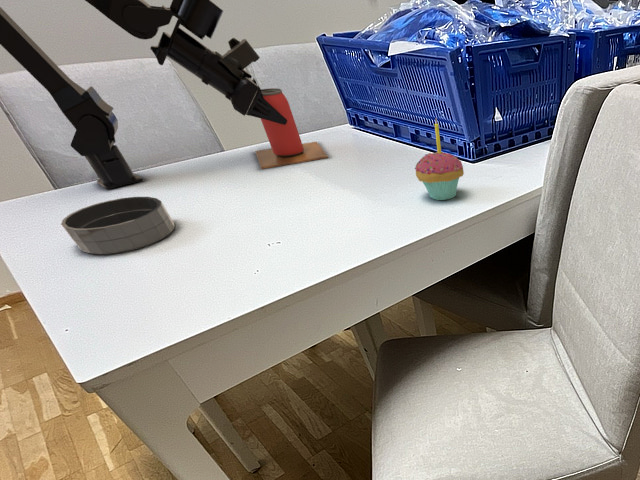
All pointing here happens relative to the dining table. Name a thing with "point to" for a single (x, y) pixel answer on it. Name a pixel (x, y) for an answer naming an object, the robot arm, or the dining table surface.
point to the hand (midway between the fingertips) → (284, 119)
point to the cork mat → (309, 154)
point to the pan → (119, 225)
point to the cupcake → (439, 172)
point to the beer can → (281, 126)
